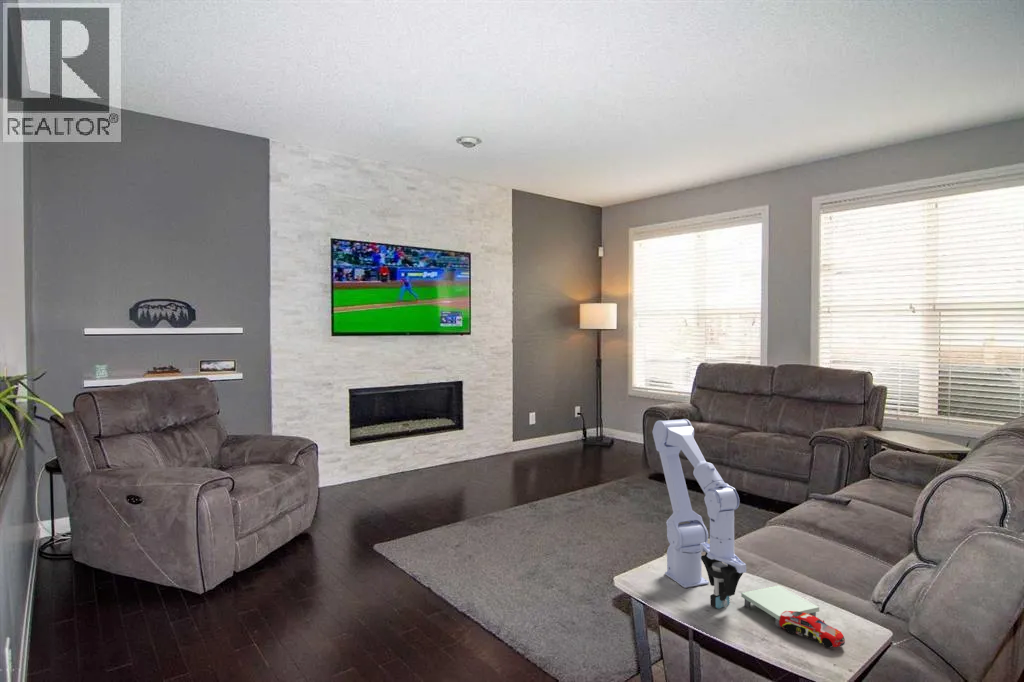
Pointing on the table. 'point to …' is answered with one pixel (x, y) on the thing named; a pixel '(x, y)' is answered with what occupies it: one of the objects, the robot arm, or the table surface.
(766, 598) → the stand
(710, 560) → the robot arm
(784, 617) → the race car
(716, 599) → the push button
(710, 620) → the table surface
